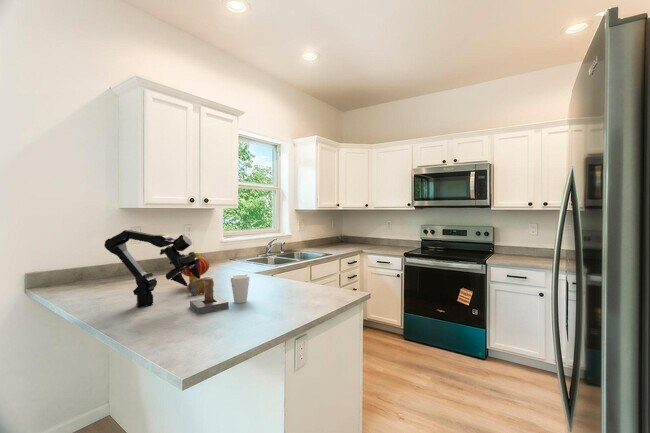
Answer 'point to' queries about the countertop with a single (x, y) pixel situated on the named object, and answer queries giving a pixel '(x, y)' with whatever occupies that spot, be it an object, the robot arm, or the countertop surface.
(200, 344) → the countertop surface
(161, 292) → the countertop surface
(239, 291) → the foam cup
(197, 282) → the tin
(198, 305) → the socket block
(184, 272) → the lantern
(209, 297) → the peg
